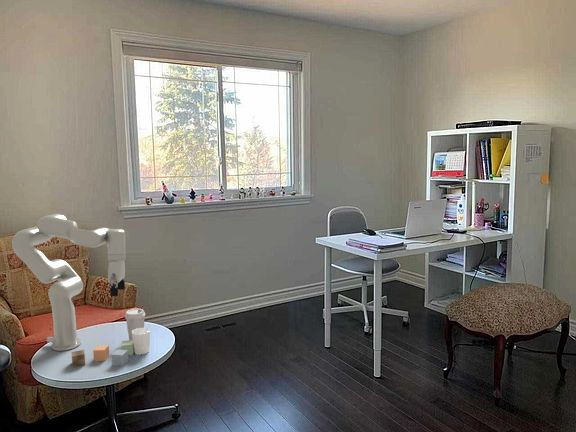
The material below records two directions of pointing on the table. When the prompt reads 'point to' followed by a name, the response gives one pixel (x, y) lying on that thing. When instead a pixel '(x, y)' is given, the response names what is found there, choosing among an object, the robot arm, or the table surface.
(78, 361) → the walnut block
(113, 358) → the slate block
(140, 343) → the white cup
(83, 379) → the table surface
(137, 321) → the coffee cup
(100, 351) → the terracotta block
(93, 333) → the table surface
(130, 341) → the sage block
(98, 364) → the table surface
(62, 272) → the robot arm
